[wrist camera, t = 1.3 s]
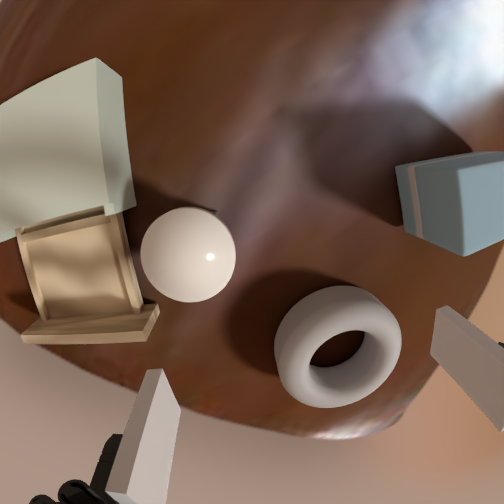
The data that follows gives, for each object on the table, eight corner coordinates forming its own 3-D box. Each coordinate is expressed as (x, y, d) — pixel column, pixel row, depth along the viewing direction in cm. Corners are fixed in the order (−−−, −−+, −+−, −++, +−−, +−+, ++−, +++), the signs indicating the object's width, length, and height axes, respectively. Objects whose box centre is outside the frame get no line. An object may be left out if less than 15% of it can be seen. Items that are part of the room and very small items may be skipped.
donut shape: (248, 347, 35) (250, 381, 29) (332, 257, 33) (353, 277, 26) (327, 395, 38) (339, 426, 32) (401, 322, 36) (426, 346, 29)
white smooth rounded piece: (138, 214, 24) (131, 217, 23) (228, 199, 24) (227, 201, 23) (156, 299, 26) (152, 306, 25) (241, 288, 26) (241, 295, 25)
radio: (401, 239, 33) (524, 304, 13) (389, 165, 30) (530, 176, 11) (482, 212, 32) (589, 247, 13) (475, 151, 30) (589, 159, 11)
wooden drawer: (17, 213, 28) (-15, 222, 22) (131, 181, 29) (107, 184, 23) (49, 327, 33) (27, 350, 27) (162, 319, 33) (149, 349, 27)
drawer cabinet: (9, 124, 25) (-24, 121, 19) (122, 77, 26) (96, 57, 19) (22, 233, 29) (-11, 246, 23) (136, 205, 30) (111, 215, 23)
